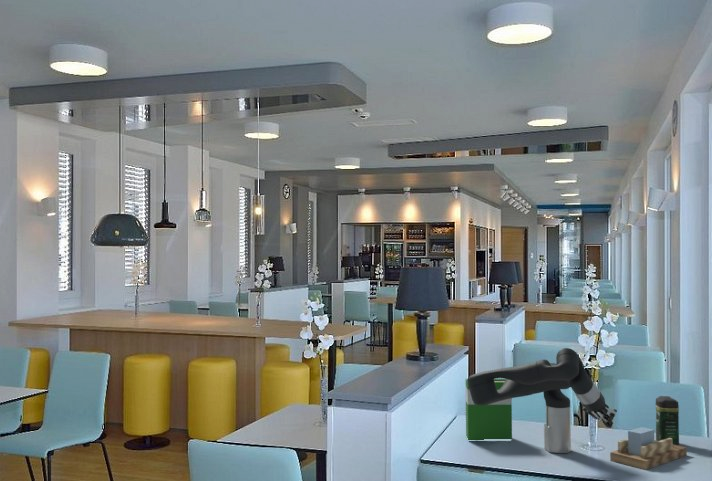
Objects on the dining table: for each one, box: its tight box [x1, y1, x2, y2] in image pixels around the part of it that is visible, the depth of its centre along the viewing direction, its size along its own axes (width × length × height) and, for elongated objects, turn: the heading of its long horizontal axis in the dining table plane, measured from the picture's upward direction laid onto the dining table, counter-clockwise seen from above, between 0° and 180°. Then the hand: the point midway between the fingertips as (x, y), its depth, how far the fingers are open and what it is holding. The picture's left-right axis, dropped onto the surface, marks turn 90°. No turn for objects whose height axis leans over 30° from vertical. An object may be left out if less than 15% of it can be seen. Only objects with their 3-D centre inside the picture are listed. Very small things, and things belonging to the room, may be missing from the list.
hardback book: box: [465, 378, 513, 441], centre depth 288 cm, size 18×7×24 cm, turn 88°
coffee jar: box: [655, 395, 680, 446], centre depth 279 cm, size 10×8×19 cm
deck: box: [609, 438, 688, 471], centre depth 260 cm, size 28×14×7 cm, turn 127°
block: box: [627, 426, 655, 456], centre depth 257 cm, size 9×5×8 cm, turn 127°
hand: (609, 425), depth 245 cm, fingers closed
